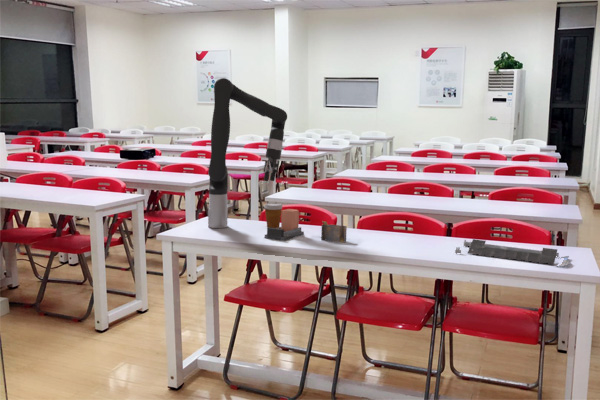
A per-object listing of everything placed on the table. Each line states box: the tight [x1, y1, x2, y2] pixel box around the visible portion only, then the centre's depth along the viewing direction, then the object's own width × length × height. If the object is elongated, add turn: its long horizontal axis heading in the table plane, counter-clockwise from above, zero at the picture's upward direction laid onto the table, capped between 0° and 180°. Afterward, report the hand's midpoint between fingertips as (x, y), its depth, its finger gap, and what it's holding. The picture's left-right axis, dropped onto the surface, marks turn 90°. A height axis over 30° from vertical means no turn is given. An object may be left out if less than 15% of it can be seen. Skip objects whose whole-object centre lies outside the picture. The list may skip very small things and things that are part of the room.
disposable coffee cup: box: [263, 202, 283, 228], centre depth 299 cm, size 10×10×12 cm
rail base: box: [264, 226, 305, 242], centre depth 277 cm, size 17×11×5 cm, turn 147°
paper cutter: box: [454, 238, 570, 267], centre depth 243 cm, size 18×45×6 cm, turn 59°
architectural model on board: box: [320, 220, 348, 243], centre depth 269 cm, size 11×3×10 cm, turn 68°
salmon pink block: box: [280, 208, 300, 231], centre depth 281 cm, size 6×6×10 cm
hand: (268, 180), depth 290 cm, fingers open, 8 cm apart
